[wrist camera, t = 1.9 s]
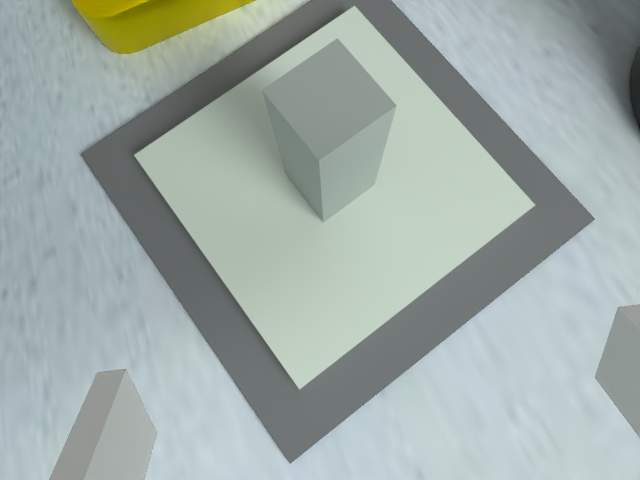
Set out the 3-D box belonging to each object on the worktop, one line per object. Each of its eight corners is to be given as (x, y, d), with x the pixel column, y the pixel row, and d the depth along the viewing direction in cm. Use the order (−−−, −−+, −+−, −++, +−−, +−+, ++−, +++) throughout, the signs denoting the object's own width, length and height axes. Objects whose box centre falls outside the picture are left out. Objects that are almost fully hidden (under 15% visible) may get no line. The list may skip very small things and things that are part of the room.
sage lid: (353, 17, 32) (365, -145, 21) (527, 210, 29) (644, 133, 18) (141, 162, 30) (35, 64, 19) (300, 387, 27) (280, 419, 16)
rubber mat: (360, -28, 33) (361, -33, 33) (591, 220, 29) (595, 219, 28) (83, 156, 31) (80, 154, 30) (290, 462, 26) (289, 463, 26)
